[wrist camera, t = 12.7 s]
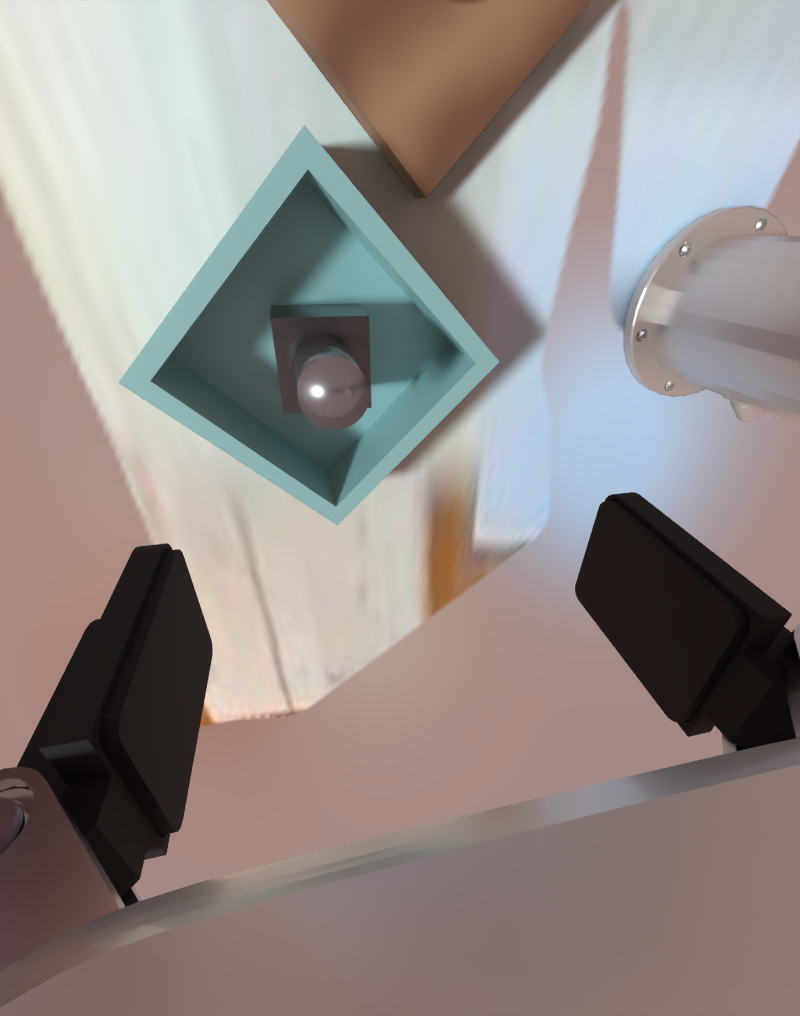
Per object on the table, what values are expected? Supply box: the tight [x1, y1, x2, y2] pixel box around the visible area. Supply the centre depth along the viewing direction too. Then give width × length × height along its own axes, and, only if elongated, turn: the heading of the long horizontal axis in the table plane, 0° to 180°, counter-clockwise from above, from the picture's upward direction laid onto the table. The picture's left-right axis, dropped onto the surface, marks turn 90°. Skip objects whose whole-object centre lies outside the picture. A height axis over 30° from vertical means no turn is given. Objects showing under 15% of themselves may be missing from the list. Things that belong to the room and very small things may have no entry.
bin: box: [119, 125, 499, 525], centre depth 26 cm, size 14×14×6 cm
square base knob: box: [270, 303, 372, 430], centre depth 24 cm, size 5×5×9 cm
